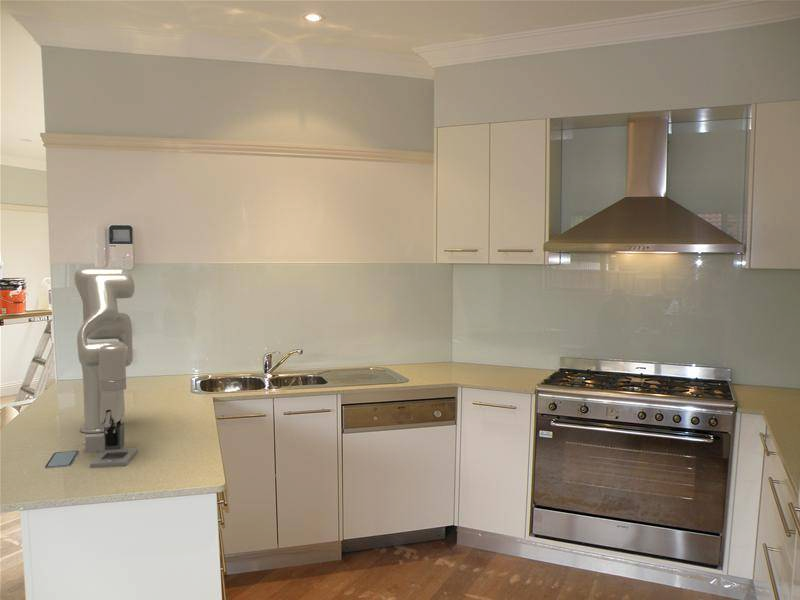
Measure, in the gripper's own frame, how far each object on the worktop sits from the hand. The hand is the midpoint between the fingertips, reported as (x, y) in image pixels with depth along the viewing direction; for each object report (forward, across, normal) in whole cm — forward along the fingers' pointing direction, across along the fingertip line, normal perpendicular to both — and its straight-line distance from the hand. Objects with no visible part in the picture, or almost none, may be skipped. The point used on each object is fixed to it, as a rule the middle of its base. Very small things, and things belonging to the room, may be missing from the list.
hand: (114, 442), depth 192 cm
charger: (+2, 0, 0) cm, 2 cm away
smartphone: (+6, -2, -16) cm, 17 cm away
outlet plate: (+5, 0, 0) cm, 5 cm away
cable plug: (+5, -11, -9) cm, 15 cm away
